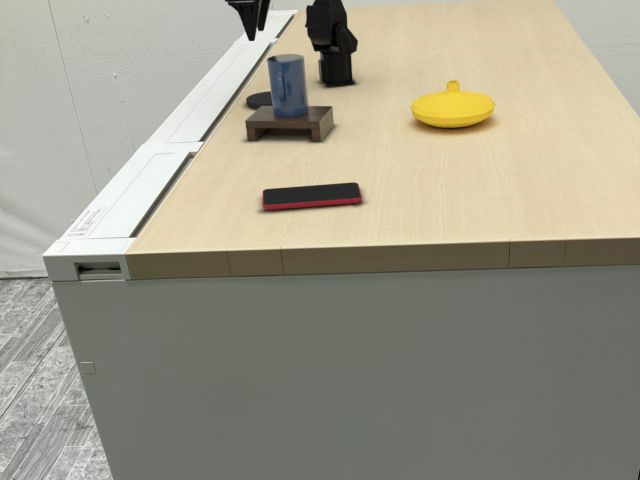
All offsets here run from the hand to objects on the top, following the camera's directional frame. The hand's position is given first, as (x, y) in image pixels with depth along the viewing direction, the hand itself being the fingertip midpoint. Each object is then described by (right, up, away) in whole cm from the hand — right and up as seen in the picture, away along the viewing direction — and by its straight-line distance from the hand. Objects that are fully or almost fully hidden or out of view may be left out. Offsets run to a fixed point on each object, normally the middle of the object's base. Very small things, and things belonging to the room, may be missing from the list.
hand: (256, 35), depth 162 cm
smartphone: (+14, -45, -35) cm, 59 cm away
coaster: (+2, -8, +10) cm, 13 cm away
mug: (+8, -19, -9) cm, 22 cm away
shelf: (+8, -22, -7) cm, 25 cm away
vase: (+38, -20, -7) cm, 44 cm away
